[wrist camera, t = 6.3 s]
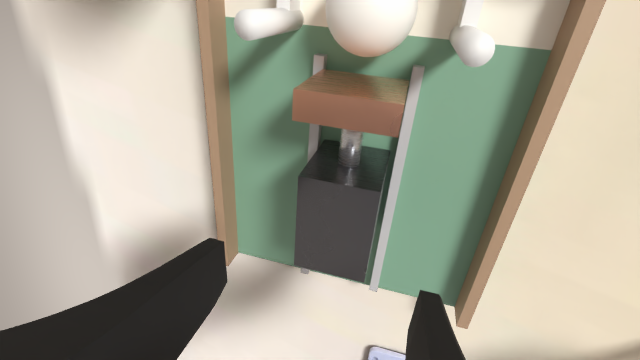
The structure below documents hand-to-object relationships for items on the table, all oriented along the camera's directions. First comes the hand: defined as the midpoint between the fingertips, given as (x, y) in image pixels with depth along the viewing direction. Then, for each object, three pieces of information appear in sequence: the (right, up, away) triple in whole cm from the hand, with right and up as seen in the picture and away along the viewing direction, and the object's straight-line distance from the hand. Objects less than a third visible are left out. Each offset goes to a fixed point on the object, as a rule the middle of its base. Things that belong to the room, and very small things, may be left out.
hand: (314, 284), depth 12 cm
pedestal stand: (+2, +5, +6) cm, 8 cm away
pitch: (+2, +6, +7) cm, 10 cm away
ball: (+2, +11, +1) cm, 11 cm away
